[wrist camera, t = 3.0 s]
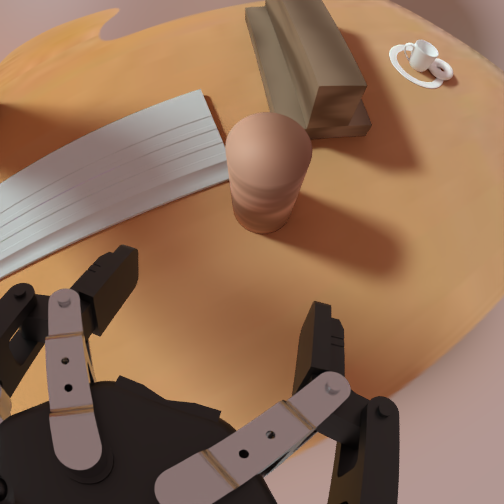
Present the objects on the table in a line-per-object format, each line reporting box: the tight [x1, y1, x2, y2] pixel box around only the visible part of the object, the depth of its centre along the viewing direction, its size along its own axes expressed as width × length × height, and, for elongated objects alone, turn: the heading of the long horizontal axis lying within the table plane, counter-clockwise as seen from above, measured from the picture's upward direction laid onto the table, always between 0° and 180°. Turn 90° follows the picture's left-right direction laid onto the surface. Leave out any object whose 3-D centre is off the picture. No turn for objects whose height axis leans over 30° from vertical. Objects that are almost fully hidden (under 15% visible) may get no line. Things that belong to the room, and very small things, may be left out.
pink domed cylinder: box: [225, 112, 312, 234], centre depth 23 cm, size 5×5×10 cm
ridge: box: [245, 0, 372, 139], centre depth 27 cm, size 9×20×8 cm, turn 9°
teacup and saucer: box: [389, 40, 453, 88], centre depth 30 cm, size 9×8×4 cm
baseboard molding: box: [0, 89, 229, 279], centre depth 27 cm, size 31×3×12 cm
